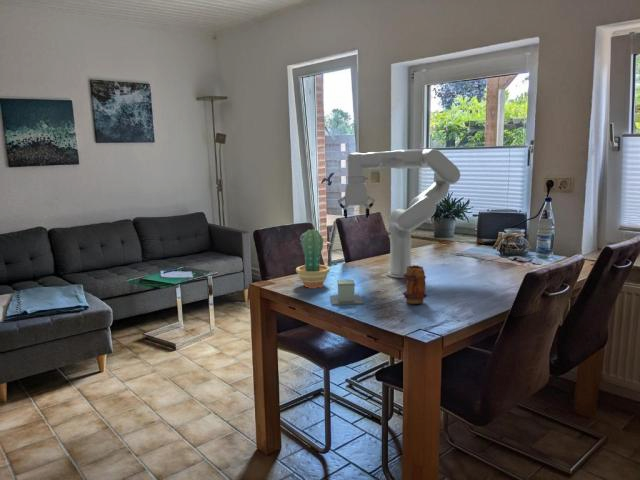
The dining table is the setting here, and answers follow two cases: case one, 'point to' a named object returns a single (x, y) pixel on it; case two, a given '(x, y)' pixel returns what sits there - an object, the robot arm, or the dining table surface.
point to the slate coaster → (336, 301)
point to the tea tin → (346, 290)
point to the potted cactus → (312, 260)
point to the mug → (415, 285)
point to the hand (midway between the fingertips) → (356, 217)
